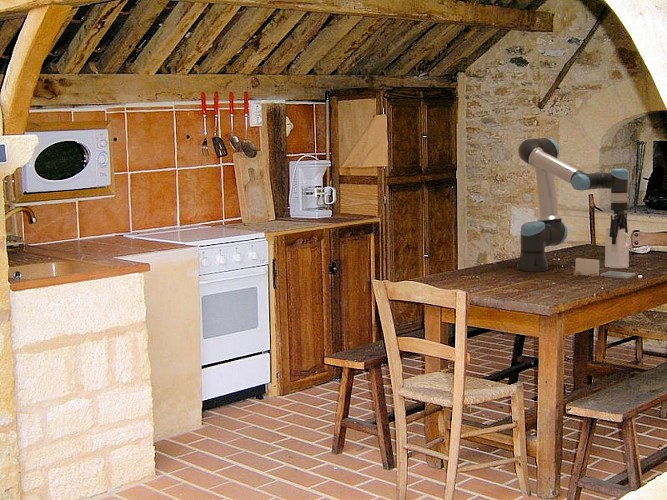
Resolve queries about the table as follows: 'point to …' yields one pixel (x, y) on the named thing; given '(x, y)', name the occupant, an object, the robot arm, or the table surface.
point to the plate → (618, 274)
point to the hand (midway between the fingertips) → (618, 250)
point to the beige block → (587, 267)
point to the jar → (617, 259)
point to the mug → (621, 241)
